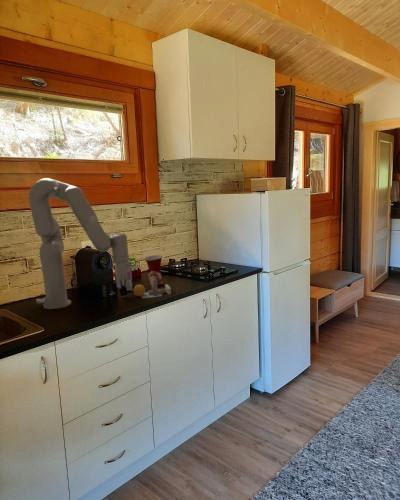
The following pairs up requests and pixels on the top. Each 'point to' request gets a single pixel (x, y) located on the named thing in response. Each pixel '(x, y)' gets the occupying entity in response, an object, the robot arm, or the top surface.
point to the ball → (139, 290)
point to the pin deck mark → (146, 295)
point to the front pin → (160, 291)
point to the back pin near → (154, 287)
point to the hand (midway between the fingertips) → (123, 295)
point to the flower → (156, 275)
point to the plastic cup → (154, 263)
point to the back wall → (168, 289)
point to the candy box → (129, 277)
